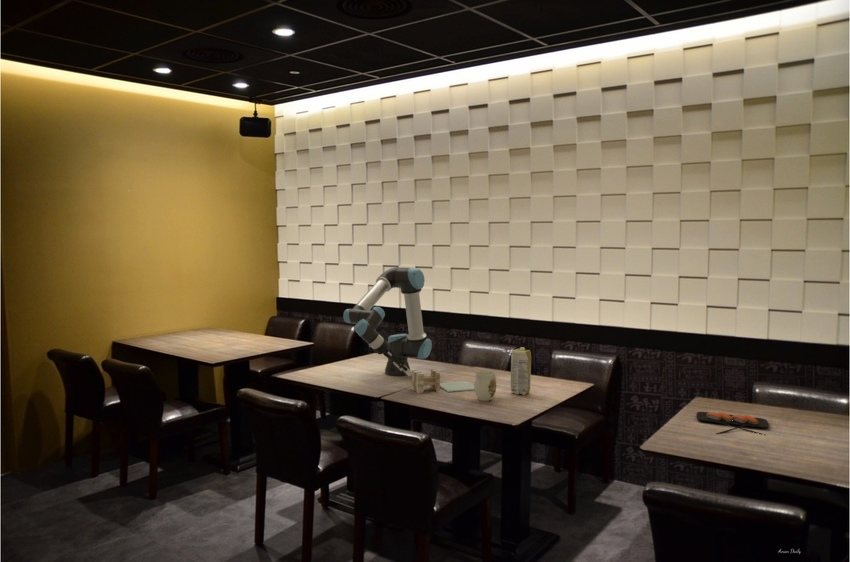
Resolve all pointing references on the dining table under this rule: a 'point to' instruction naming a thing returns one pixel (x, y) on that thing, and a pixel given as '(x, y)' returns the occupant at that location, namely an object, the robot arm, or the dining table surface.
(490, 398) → the cream mug
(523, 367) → the juice carton
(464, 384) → the mat
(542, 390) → the dining table surface
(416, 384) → the stool
